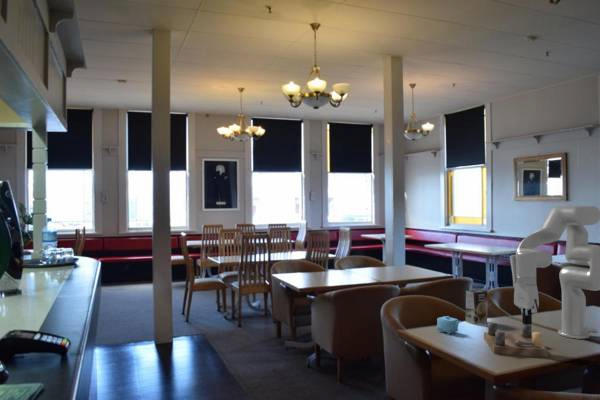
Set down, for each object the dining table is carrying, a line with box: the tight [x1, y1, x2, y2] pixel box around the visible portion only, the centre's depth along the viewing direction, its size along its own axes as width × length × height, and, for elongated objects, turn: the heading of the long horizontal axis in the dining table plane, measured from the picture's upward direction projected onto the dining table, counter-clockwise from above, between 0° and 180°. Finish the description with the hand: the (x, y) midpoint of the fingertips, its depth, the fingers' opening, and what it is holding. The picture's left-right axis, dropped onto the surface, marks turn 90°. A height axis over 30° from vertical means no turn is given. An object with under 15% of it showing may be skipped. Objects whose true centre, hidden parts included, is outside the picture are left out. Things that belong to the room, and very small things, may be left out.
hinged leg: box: [515, 331, 543, 347], centre depth 183 cm, size 10×4×5 cm, turn 76°
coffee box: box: [465, 289, 488, 325], centre depth 230 cm, size 9×6×16 cm
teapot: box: [436, 315, 462, 335], centre depth 212 cm, size 12×6×8 cm, turn 41°
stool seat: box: [483, 321, 549, 358], centre depth 191 cm, size 20×20×8 cm
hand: (527, 324), depth 189 cm, fingers closed
